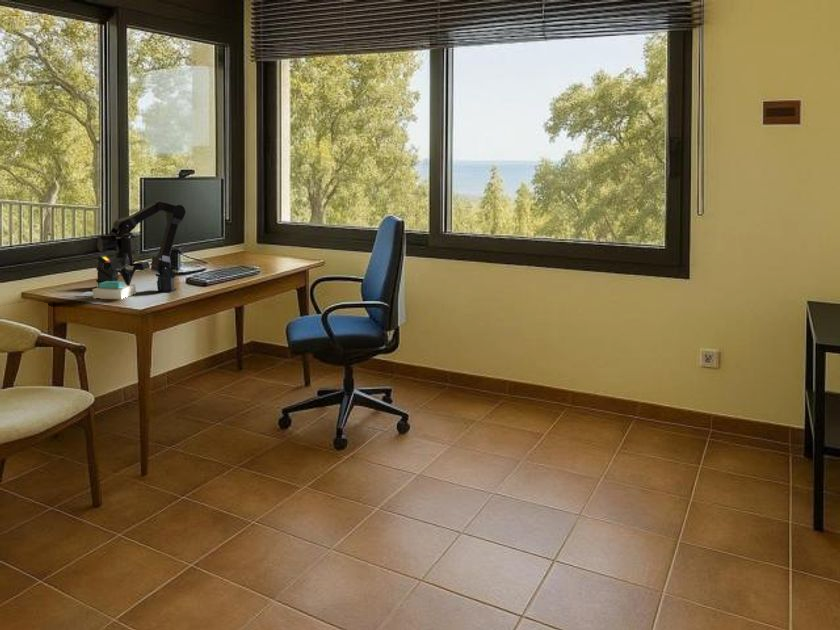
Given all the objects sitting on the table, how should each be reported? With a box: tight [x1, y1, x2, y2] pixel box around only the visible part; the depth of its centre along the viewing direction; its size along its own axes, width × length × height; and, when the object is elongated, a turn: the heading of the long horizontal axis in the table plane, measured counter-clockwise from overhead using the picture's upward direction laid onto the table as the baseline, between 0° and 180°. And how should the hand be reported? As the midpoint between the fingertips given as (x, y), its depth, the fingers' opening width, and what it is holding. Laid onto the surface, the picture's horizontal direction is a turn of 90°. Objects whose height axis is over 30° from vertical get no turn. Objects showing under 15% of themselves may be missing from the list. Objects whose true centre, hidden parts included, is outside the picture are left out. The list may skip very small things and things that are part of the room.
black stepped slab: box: [96, 254, 120, 288], centre depth 339 cm, size 4×13×15 cm, turn 58°
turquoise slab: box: [99, 280, 125, 289], centre depth 321 cm, size 8×6×2 cm
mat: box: [75, 291, 93, 298], centre depth 326 cm, size 10×9×1 cm
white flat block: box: [91, 283, 137, 300], centre depth 323 cm, size 13×12×4 cm
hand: (128, 285), depth 320 cm, fingers closed
